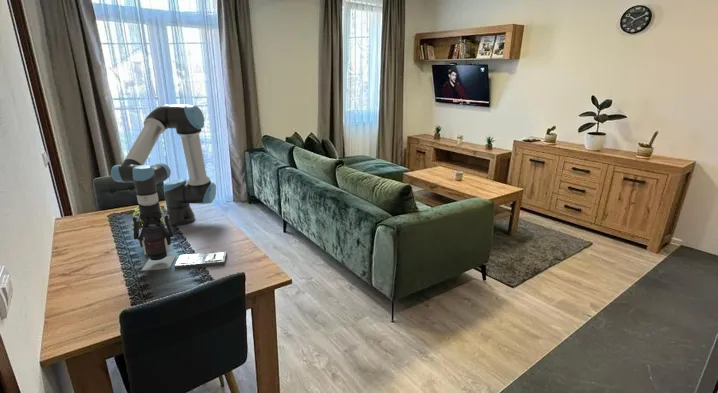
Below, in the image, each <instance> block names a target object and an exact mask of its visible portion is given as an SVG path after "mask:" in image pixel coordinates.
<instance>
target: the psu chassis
mask: <svg viewBox="0 0 718 393" xmlns="http://www.w3.org/2000/svg"><path fill="white" fill-rule="evenodd" d="M227 257H228V252H227V251H226V250H225V251H215V252H214V251H212V252H211V251H210V252H200V253H188V254H187V253H186V254H179V256H178V258H177V260H176V262H175V264H174V267H173V268H174V271H176V270H177V271H179V270H180V271H181V270H190V268H192V269H199V268H200V267H204V268H212V267H216V268H217V267H224V266H225V265H226V260H227ZM200 269H201V268H200Z"/></svg>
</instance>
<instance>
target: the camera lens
mask: <svg viewBox="0 0 718 393" xmlns="http://www.w3.org/2000/svg"><path fill="white" fill-rule="evenodd" d="M162 224H163V225H164V223H163V222H162ZM163 225H162V226H160V227H158V226H156V224H150V225H147V226H146V227H143V226H142V227H143V235H144V238H143V239H145V246H146V250H147V254H146V255H147V256H148V257H149V258H150V260H161V259H163V258H165V257H168V256H167V255H168V253H166V247H165V241H164V239H165V236H164V234H163V229H162V228H163V227H165V225H164V226H163Z"/></svg>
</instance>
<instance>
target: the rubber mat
mask: <svg viewBox="0 0 718 393" xmlns="http://www.w3.org/2000/svg"><path fill="white" fill-rule="evenodd" d="M176 258H177V256H176V255H171V256H170V255H169V256H166V257H165V258H163V259H161V260H150V257H149V258H148V260H147V261H146V263H145V264H144V266H143V267H142V269H141V272H146V271H158V270H169V269H171V267H172V265H173V263H174V262H175V260H176Z"/></svg>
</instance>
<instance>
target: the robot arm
mask: <svg viewBox="0 0 718 393" xmlns="http://www.w3.org/2000/svg"><path fill="white" fill-rule="evenodd" d="M204 127H205V117H204V114H203V112H202V109H201V108H199V106H198V105H195V104H194V105H193V104H163V105H160V106H158V107H156V108H155V109H153V110H152V111H151V112H149V114H148V115H147V116H146V117H145V119H144V121H143V127H142V129H141V130H140V132H139V134H138V136H137V138H136V139H135V141H134V143H133V145H132V146H131V148H130V150H129V152H128V154H127V155H126V157H125V159H124V160H123V162H122V164H115V165H113V166H112V168H111V170H110V175H111V179H112V180H113V181H114V182H117V183H125V184H126V183H133V184H134V188H135V193H136V194H135V195H136V198H137V203H138V211H139V213H140V214H139V215H134V216H133V217H132V221H133V239H134V240H138V241H139V244H140V248H142V249H143V254H144V256H145V255H148V254H147V250H146V246H145V239H144V235H143V227H146V226H147V225H150V224H156V226H158V227H160V226H162V225H163V226H164V227H163V228H162V229H163V234H164V236H165V239H164V241H165V247H166V253H167V254H168V253H170V251H171V248H170V245H171V244H172V240H171V238H173V237H174V235H175V231H174V230H175V229H174V227H173V226H181V225H187V224H189V223H192V222H194V220H195V219H196V217H195V212H193V209H192V208H191V205H192V204H198V205H199V204H200V205H202V204H203V205H205V204H207V205H208V204H212V203H213V202H214V200H215V198H216V195H217V186H216V184H215V182H212V181H211V178H210V177H209V176H207V170H206V165H205V159H204V155H203V150H202V144H201V139H200V138H201V137H200V134H201V132H202V129H203V128H204ZM169 129H175V131H176V134H177V135H178V136H180V139H181V143H182V148H183V153H184V158H185V162H186V168H187V171H188V176H189V177H188V178H189V179H188V180H187V179H186V178H177V179H176V178H175V179H172V180H170V181H167V182H165V181H166V180H168V179H169V178H170V177H171V174H172V171H171V168H170V166H168V165H167V164H166V163H163V162H160V163H156V164H151V165H149V164H146V162H147V160H148V158H149V156H150V155H151V152H152V150H153V149H154V147H155V144H156V143H157V141H158V139H159V137H160V135H161V134H164V133H165V131H166V130H169ZM163 182H165V183H164V184H163V193H164V200H165V205H166V212H165V213H164V214H163V213H162V212H161V206H160V202H159V201H160V200H159V194H158V189H157V185H158V184H161V183H163ZM161 219H163V220H164V223H165V225H164V223H163V221H162V220H161ZM140 221H142V222H143V223H142V228H141V231H140ZM162 223H163V224H162ZM165 226H166V227H165Z"/></svg>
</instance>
